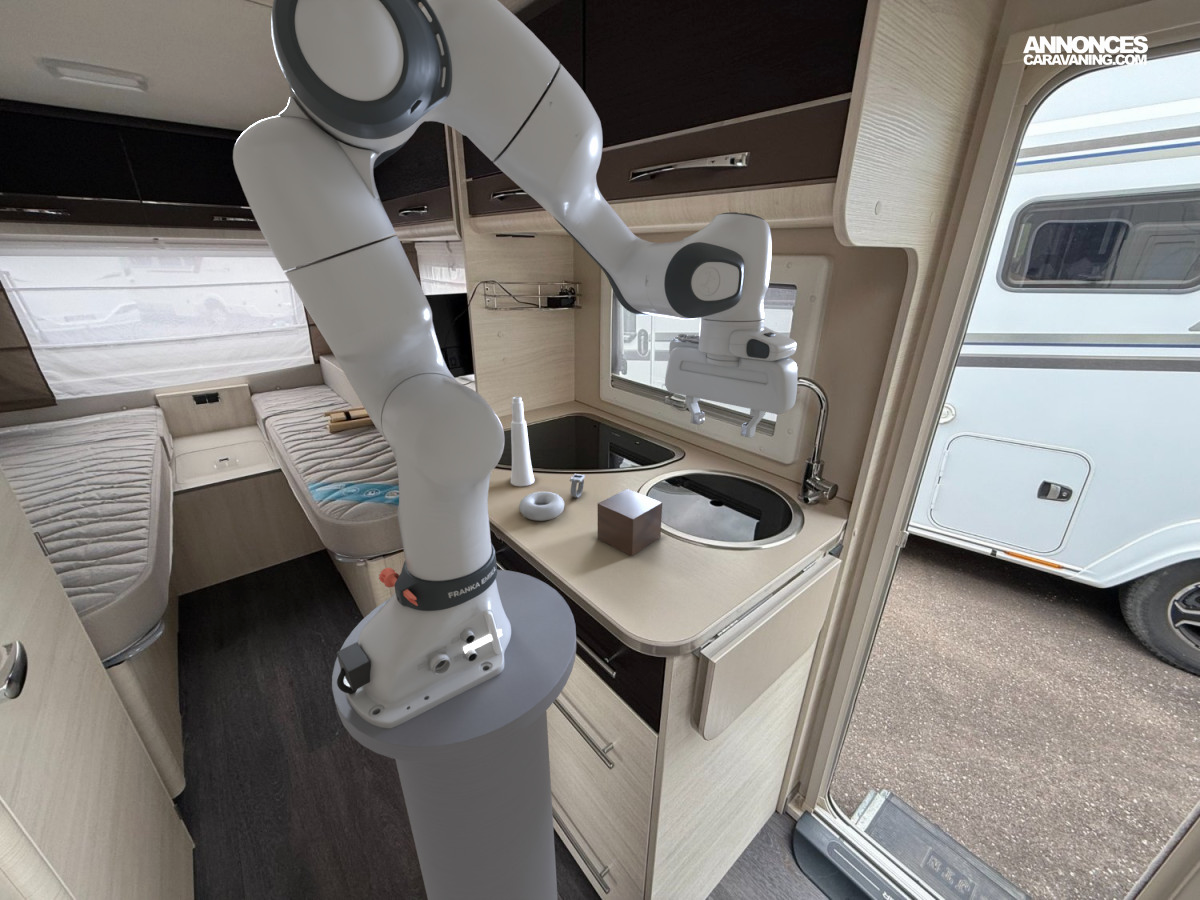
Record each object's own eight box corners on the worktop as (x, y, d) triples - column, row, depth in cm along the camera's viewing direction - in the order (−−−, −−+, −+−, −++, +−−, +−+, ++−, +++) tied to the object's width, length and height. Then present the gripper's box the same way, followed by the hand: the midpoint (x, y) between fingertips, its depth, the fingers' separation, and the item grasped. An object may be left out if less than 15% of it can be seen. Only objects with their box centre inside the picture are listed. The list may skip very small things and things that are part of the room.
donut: (558, 526, 99) (569, 503, 108) (558, 511, 97) (568, 490, 107) (513, 522, 100) (527, 500, 109) (512, 508, 99) (526, 486, 108)
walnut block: (632, 556, 88) (633, 519, 85) (597, 538, 94) (597, 503, 91) (660, 537, 94) (662, 502, 91) (626, 522, 100) (627, 488, 97)
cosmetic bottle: (535, 476, 122) (531, 394, 114) (533, 486, 116) (527, 401, 108) (512, 476, 122) (506, 394, 114) (508, 486, 116) (501, 401, 108)
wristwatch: (579, 502, 108) (578, 483, 107) (567, 501, 109) (567, 481, 107) (587, 491, 114) (586, 472, 112) (576, 489, 115) (576, 471, 113)
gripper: (658, 334, 72) (655, 420, 77) (789, 349, 59) (775, 451, 64) (682, 330, 76) (677, 412, 81) (808, 343, 63) (793, 439, 68)
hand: (721, 429), depth 73 cm, fingers open, 7 cm apart
